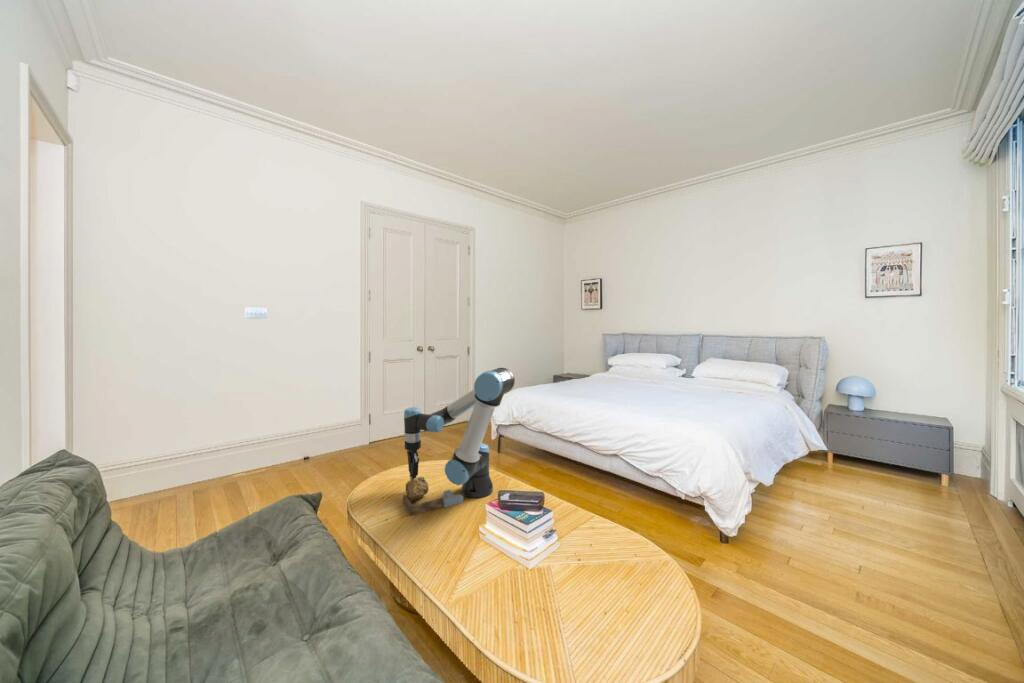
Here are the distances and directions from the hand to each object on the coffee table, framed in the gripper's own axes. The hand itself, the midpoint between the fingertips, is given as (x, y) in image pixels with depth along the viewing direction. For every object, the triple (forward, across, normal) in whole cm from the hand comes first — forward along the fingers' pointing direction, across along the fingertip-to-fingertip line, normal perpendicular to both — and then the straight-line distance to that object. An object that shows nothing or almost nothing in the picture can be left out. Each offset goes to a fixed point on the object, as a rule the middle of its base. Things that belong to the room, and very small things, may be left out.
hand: (413, 487), depth 189 cm
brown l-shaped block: (+2, +15, 0) cm, 15 cm away
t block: (+2, +17, +12) cm, 21 cm away
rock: (+2, +8, 0) cm, 8 cm away
